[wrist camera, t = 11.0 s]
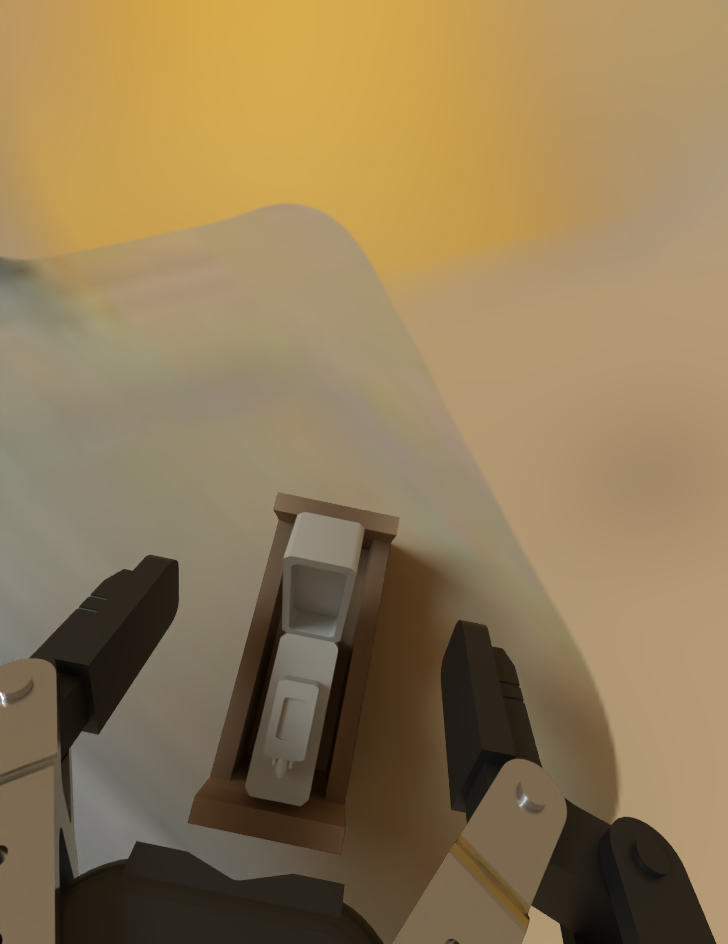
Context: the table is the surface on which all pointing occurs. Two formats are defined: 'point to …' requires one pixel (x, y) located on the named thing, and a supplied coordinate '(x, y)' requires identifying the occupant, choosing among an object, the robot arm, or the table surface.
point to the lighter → (304, 655)
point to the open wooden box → (325, 811)
